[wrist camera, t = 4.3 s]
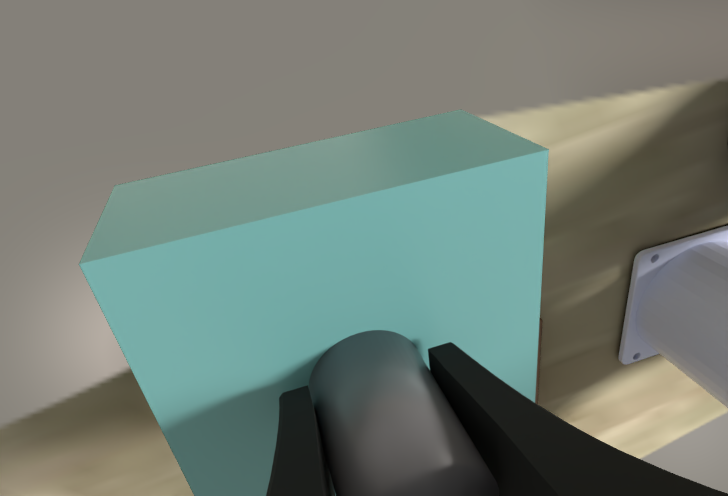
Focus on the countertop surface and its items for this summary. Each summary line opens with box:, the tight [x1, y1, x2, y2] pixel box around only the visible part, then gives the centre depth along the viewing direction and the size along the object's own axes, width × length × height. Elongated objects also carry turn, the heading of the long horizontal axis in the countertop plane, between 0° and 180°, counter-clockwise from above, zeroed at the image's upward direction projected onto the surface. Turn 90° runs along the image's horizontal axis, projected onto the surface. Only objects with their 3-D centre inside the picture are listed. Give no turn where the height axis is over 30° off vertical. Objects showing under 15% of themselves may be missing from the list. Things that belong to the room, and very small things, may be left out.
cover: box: [79, 110, 549, 496], centre depth 13 cm, size 10×10×8 cm
